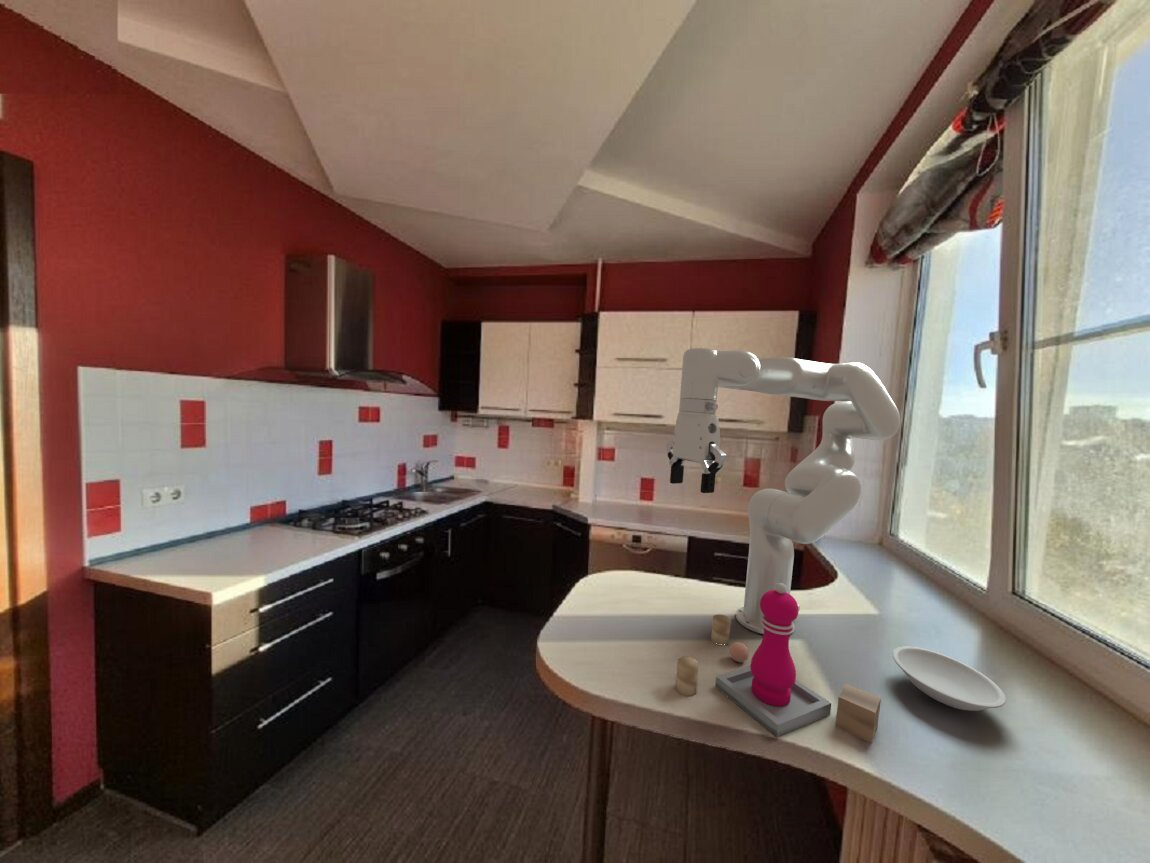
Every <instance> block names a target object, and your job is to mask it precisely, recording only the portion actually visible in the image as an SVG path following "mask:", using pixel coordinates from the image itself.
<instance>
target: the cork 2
mask: <svg viewBox="0 0 1150 863" xmlns="http://www.w3.org/2000/svg"><path fill="white" fill-rule="evenodd" d="M731 621H732V620H731V618H729V616H726V615H723V614H714V615H713V616H712V623H711V625H712V626H711V634H710V635H711V636H710V638H711V639H710V640H712V641H713V642H715V643H717V644H722V645H724V644H725V645H726V644H728V643H729V642H730V635H731V634H730V632H731ZM712 641H711V642H712ZM713 642H712V643H713ZM715 643H714V644H715ZM717 644H716V645H717ZM728 645H729V644H728ZM726 646H727V645H726Z"/></svg>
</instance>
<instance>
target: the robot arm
mask: <svg viewBox="0 0 1150 863" xmlns="http://www.w3.org/2000/svg"><path fill="white" fill-rule="evenodd" d="M718 388H723V389H730V390H739V391H740V390H741V391H748V392H749V391H750V392H756V393H762V394H766V395H767V394H768V395H776V396H782V397H783V396H784V397H792V398H801V399H809V400H813V401H814V400H815V401H822V402H823V401H825V402H826V401H827V402H835V403H833V404H831V405H830V406H828V407H827V409H826V410H825V411H824V413H823V416H822V434H821V436H822V437H821V441H820V443H819V445H818V446H817V447H816V448H815V449H814V450H813V451H812V452H811V453H810V454H809V455H807V456H806V457H805V458H804V459H803V460H801V462H799V463H798V464H797V465H796V466H794V468H793V469H792V470H790V472H789V473H787V475H786V477H785V480H784V488H785V489H786V491H784V490H781V489H776V488H763V489H761V490H760V489H759V490H758V491H755V493H754V494H753V495H752V496H751V498H750V500H749V503H748V506H747V507H748V508H747V510H748V511H747V513H748V524H749V546H748V556H747V558H748V559H747V567H746V568H747V569H746V580H745V591H744V601H743V606H742V607H740V608H738V609H737V610H736V612H735V618H736V621H738V623H739V624H740V625H742V626H743V627H744V628H745V629H747V630H749V631H752V632H754V633H757V634H760V635H763V634H764V627H763V626H762V624H761V622H762V616H763V615H764V614H763V612H762V611H761V608H760V601H761V598H762V596H763V595H764V594H765V593H766V592H768V591H770V590H776V589H775V586H776V584H778V583H783V584H784V585H785V586H786V589H787V590H786V593H789V594H790V595H791V587H792V579H793V577H792V576H793V569H794V568H793V567H794V559H795V550H794V548H795V547H794V543H793V542H796V543H798V544H804V545H808V544H812V543H816V542H817V541H818V540H820V539H822V538H823V536H825V535H826V534H828V533H829V532H830V531H831V530H832V529H833V528H834V527H835V526H836V525H837V524H838V523H840V522H841V521H842V520H843V519H844V518H845V517H846V516H847V515H849V513H851V511H852V510H854V508H855V507H856V505H857V503H858V501H859V499H860V496H861V494H862V485H861V481H860V480H859V477H858V476H857V475H856V474H855V473H854V472H852V471H851V470H852V469H853V467H854V465H855V462H856V454H855V449H854V439H853V438H855V439H862V440H870V441H885V440H888V439H891V438H892V437H894V436H895V435H897V433H898V432H899V429H900V426H901V416H900V415H901V414H900V412H899V409H898V408H897V405H896V404H895V402H894V401H893V399H892V397H891V396H890V394H889V393H888V391H887V389H886V387H885V386H884V384H883V383H882V381H881V379H880V378H879V377H878V376H877V375H876V373H875V372H874V371H873V370H872V369H871V368H870V367H869V366H867V365H865V364H864V363H861V362H847V363H845V362H843V363H826V362H819V361H813V360H807V359H800V358H795V357H787V356H786V357H783V356H781V357H777V356H776V357H767V358H764V357H763V358H760V357H759V358H757V356H756V355H755V354H754V353H752V352H750V351H747V350H743V349H736V350H717V349H714V348H709V347H708V348H706V347H705V348H703V347H696V348H695V347H693V348H689V349H686V350H685V352H684V354H683V356H682V366H681V378H680V394H679V405H678V406H679V408H678V413H677V417H676V421H675V426H674V430H673V440H671V441H670V442H668V443H667V444H665V445H666V446H665V447H666V450H667V451H666V453H667V458H668V459H669V461H668V462H669V465H670V477H669V483H670V484H674V485H675V484H682V483H683V482H684V471H685V466H684V465H683V463H684V462H685V461H688V462H691V463H696V464H697V463H698V464H700V466H701V468H702V470H703V473H701V477H700V478H701V480H700V481H701V482H700V489H699V490H700V493H701V494H712V493H714V492H715V487H716V486H715V484H716V474H719V471H720V470H721V469H722V468H723V466H724V464H725V463H724V462H725V461H726V458H727V454H726V453H725V452H724V451H723V450H722V449H721V447H720V446H721V445H720V444H721V433H720V432H721V431H720V430H721V428H720V422H719V416H718V415H716V411H717V410H718V408H719V406H718V404H717V402H718V401H717V399H718ZM798 609H799V611H801V606H800V604H798ZM792 622H793V624H794V625H795V623H794V621H792ZM794 631H795V626H794V627H793V632H792V633H791V634H790V635H792V634H793V633H794Z"/></svg>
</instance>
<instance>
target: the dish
mask: <svg viewBox="0 0 1150 863" xmlns="http://www.w3.org/2000/svg"><path fill="white" fill-rule="evenodd" d="M892 658H893V660H894V662H895V663H896V665H897V666H898V667H899V668H900V669H901V671H902V672H903V673H904V675H905V676H906V678H908V680H909V681H910V682H911V683H912V684H913V685H914V686H915V687H916V688H918V689H919V690H920V691H921V692H922V693H924V694H925V695H927V696H928V697H930V698H932V699H933V700H935V701H937V702H939V703H942V704H943V705H945V706H948V707H951V708H955V709H959V710H963V711H973V712H974V711H983V710H984V711H985V710H988V709H998V708H1002V707H1003V706H1005V704H1006V702H1007V698H1006V695H1005V693H1004V691H1003V690H1002V689H1001V688H1000V686H998V685H997V683H995V681H993V680H992V679H990V678H989V677H988V676H986V675H985V674H984V673H982V672H980V671H979V670H977V669H975V668H974V667H972V666H970V665H968V664H966V663H964V662H963V661H960V660H958V659H956V658H955V657H954V658H953V657H951V656H949V655H946V654H944V653H941V652H938V651H934V650H932V649H928V648H924V647H919V646H911V645H903V646H899V647H896V648H894V650H893V651H892Z"/></svg>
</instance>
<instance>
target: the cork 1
mask: <svg viewBox="0 0 1150 863" xmlns="http://www.w3.org/2000/svg"><path fill="white" fill-rule="evenodd" d="M676 664H677V665H676V674H675V675H676V676H675V690H676V692H677V693H678V694H680V695H682V696H683V697H684V696H685V697H693V695H694V696H696V695H697V688H698V678H699V677H698V676H699V662H698V661H697V660H696V659H694V658H693V657H690V656H680V657H678V659H677V663H676Z"/></svg>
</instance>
